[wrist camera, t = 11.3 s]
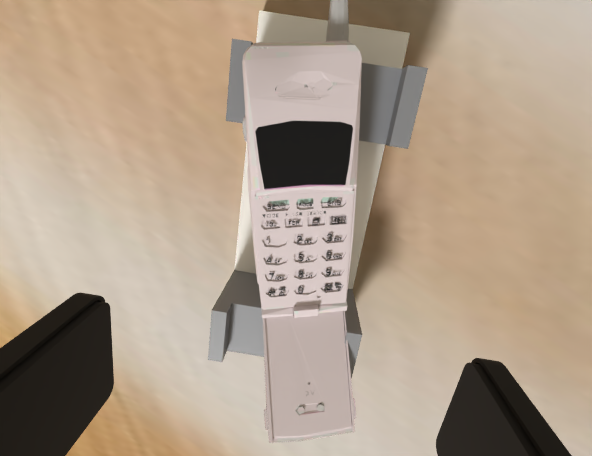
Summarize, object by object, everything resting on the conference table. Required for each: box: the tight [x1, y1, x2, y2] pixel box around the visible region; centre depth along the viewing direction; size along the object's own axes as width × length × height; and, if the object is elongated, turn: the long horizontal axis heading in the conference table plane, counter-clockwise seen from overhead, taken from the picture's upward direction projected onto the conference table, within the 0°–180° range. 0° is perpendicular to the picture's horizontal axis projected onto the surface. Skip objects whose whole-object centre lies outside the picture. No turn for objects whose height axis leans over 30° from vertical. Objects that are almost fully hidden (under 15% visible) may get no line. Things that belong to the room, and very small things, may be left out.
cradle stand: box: [208, 10, 428, 378], centre depth 23 cm, size 26×10×7 cm, turn 172°
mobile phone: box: [242, 0, 362, 443], centre depth 19 cm, size 6×6×25 cm
